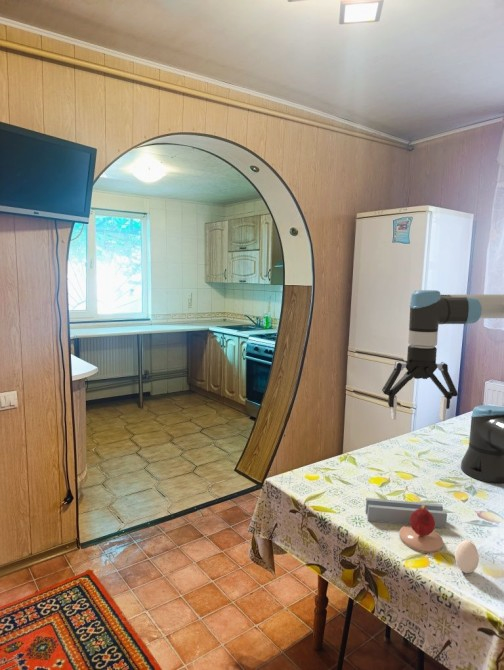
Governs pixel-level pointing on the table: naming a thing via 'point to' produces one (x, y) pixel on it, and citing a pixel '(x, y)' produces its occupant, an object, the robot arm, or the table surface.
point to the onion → (422, 521)
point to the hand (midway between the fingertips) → (417, 418)
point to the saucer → (421, 540)
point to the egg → (467, 556)
